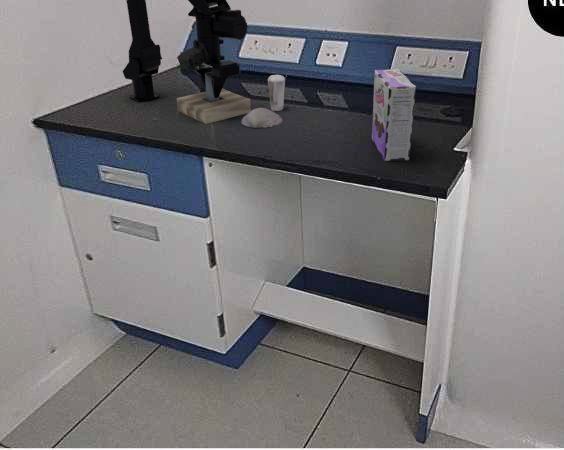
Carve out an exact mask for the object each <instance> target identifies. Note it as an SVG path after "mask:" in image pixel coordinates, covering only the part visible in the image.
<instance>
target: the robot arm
mask: <svg viewBox="0 0 564 450" xmlns="http://www.w3.org/2000/svg"><path fill="white" fill-rule="evenodd" d="M125 1H126V6H127V13H128V21H129V25H130V31H131V33H130V34H131V43H130V46H129V50H128V63H126V66H125V67H124V68H123V70H122V74H123V77H124V78H125V79H126V80H131V84H132V90H133V92H132V93H133V94H130V95H129V96H128V97H129V98H130V99H133V100H135V101H136V102H144V101H150V100H155V99H159V98H160V95H159V94H156V93H155V90H154V89H155V88H154V83H153V82H154V81H153V75H157V74H158V73H159V71H160V70H159V68H160V66H161V65H162V64H161V63H162V60H163V58H162V57H163V56H162V54H161V45H160V44H156V43H155V42H154V41H153V39H152V37H151V36H152V35H151V29H150V23H149V15H148V8H147V1H146V0H125ZM187 1H188V2H189V3H190V4H191V6H192V9H191V10H190V11H189V12H188V13H187V16H188V17H193V18H195V27H196V29H195V30H196V38H195V39H194V40H193V41H192V45H193V46H192V47H191V48H188V49H186V50H185V51H184V52H181V53H180V54H179V55H178V56H177V57H176V59H177V61H178V63H179V65H180V68H181V69H182V70H186V71H188V72H192V71H193V72H195V73H196V74H197V75H198V76H199V78H200V80H201V82H202V85H203V87H204V88H203V89H204V90H205V91H204V92H206V83H205V73H208V72H212V73H208V74H206V75H207V76H208V77H209V78H210V79H211V82H212V88H213V94H214V98H218V97H219V95H220V93H221V90H222V89H224V85H225V82H226V81H227V78H229V77H232V76H236V75H240V74H241V65H240V64H239V63H238V62H235V61H233V60H226V59H225V58H226V57H225V55H223V54H222V51H221V50H222V49H221V45H222V44H224V41H225V40H224V39H230V40H239V41H242V40H243V39H244V38H245V37H246V34H247V31H248V22H247V20H246V18H245V16H243V15H242V10H241V9H232V8H231V6H230V4H229V3H228V1H227V0H187ZM223 38H224V39H223Z"/></svg>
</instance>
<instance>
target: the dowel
mask: <svg viewBox="0 0 564 450" xmlns="http://www.w3.org/2000/svg"><path fill="white" fill-rule="evenodd" d="M208 73H212V72H208ZM208 73H205V83H206V91H205V92H206V96H207V101H208V102H210V103H211V102H215V101H219V97H218V98H214V94H213V88H212V82H211V79H210V78H209V77H208V76H207V75H206V74H208Z"/></svg>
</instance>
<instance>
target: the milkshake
mask: <svg viewBox="0 0 564 450" xmlns="http://www.w3.org/2000/svg"><path fill="white" fill-rule="evenodd" d="M287 75H288V74H286V76H285V77H284V75H280V74H272V75H270V76H269V77H268V78H267V85H268V92H269V102H270V110H271V111H273V112H280V111H283V110H284V105H285V103H284V100H285V87H286V77H287Z"/></svg>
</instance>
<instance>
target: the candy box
mask: <svg viewBox="0 0 564 450" xmlns="http://www.w3.org/2000/svg"><path fill="white" fill-rule="evenodd" d="M373 81H374V82H373V102H372V103H373V104H372V108H373V109H372V125H371V126H372V127H371V140H372V142H373V143H374V146H375V147H376V149H377V150H378V153H379V154H380V156H381V157H382V159H383V161H384V162H393V161H396V162H397V161H409V160H410V154H411V146H412V145H411V144H412V143H411V142H412V132H413V131H412V130H413V124H414V123H413V120H414V113H415V112H414V111H415V110H414V108H415V99H416V89H417V86H416V85H415V84H413V83H412V82H411V81H410V80H409V78H408V77H407V76H406V75H405V74H404V73H403V72H402V71H401V69H400V68H392V69H391V68H390V69H389V68H388V69H375V70H374V79H373Z"/></svg>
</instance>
